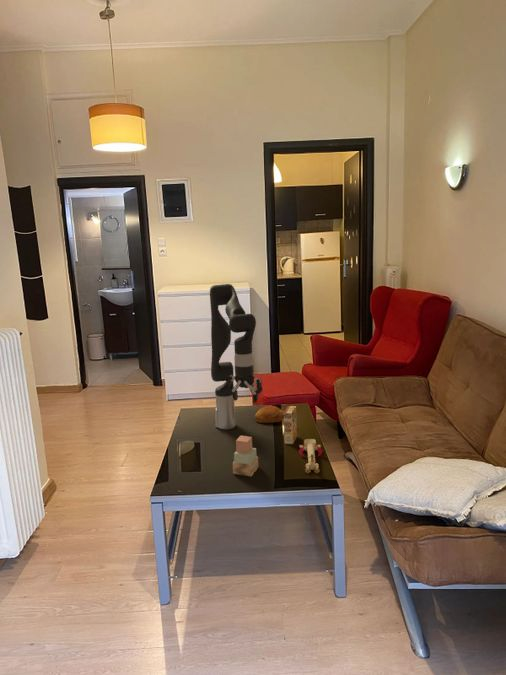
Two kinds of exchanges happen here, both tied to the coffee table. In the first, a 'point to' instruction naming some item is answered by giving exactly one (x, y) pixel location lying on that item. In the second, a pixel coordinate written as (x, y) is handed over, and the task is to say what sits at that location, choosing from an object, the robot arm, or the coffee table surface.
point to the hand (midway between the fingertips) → (245, 401)
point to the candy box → (290, 425)
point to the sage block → (245, 457)
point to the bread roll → (269, 414)
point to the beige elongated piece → (311, 454)
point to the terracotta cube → (244, 444)
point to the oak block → (245, 468)
